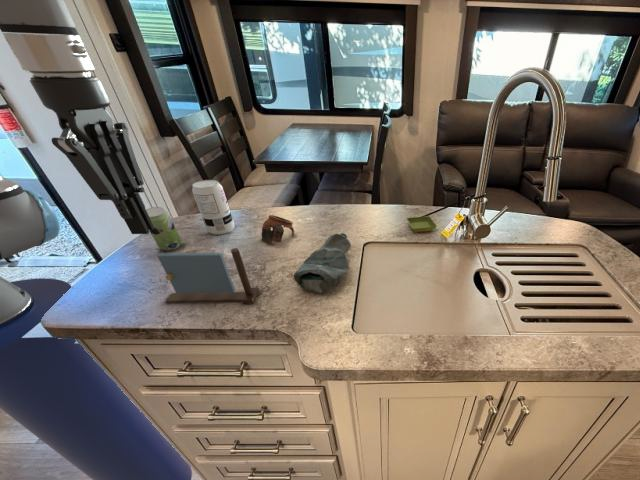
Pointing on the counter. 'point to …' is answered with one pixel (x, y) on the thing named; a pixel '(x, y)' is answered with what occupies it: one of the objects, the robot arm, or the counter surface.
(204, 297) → the brown l-shaped stand
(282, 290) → the counter surface
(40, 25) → the robot arm
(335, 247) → the grey soft lump
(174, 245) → the beverage can
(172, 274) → the door
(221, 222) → the supplement can
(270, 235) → the brown piece
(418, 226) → the green square dish
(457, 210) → the counter surface
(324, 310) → the counter surface
